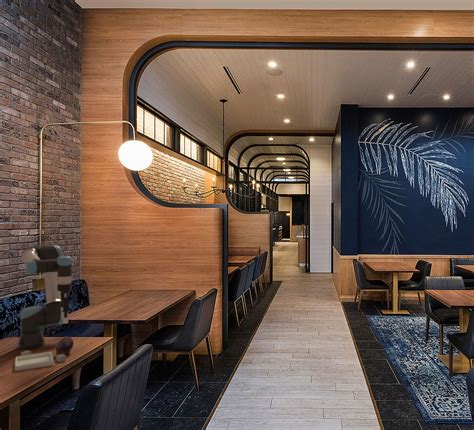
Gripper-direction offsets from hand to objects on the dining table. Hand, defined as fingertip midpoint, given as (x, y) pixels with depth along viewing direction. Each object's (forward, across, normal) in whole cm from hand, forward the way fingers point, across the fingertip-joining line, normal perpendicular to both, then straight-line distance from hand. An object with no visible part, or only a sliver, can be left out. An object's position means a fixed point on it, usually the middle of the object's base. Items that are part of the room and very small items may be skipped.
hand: (64, 320), depth 237 cm
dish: (+18, +11, -16) cm, 27 cm away
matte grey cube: (+19, -4, -20) cm, 28 cm away
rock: (+19, 0, 0) cm, 19 cm away
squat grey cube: (+19, +13, -3) cm, 23 cm away
